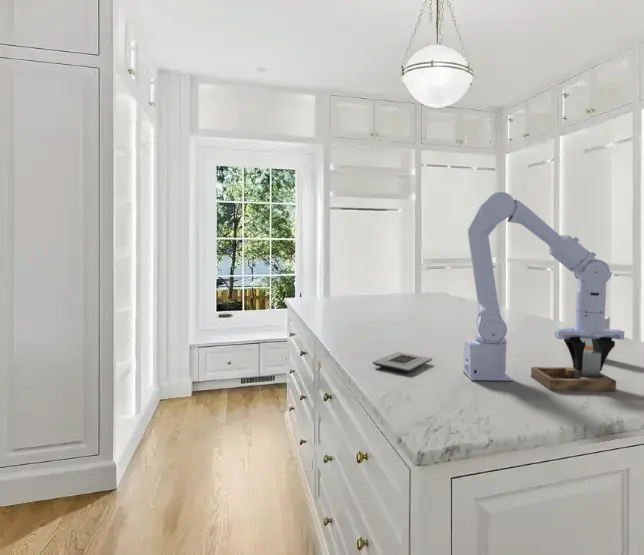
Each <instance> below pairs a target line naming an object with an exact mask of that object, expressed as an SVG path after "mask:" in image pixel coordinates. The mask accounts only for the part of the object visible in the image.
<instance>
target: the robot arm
mask: <svg viewBox="0 0 644 555" xmlns="http://www.w3.org/2000/svg"><path fill="white" fill-rule="evenodd" d="M506 219H507V223H513V224H518V225H521V226H523V227H524V228H526V230H528V231H529V232H530V233H532V234H533V235H534V236H536V237H537V238H538V239H540V240H542V241H543V242H544V243H545V244H547V246H548V253H549V255H550V256H552V257H553V258H554V259H555V260H557V261H558V263H561V264H562V266H564V267H565V268H566V269H567V270H569V271H570V272H573V275H574V277H575V278H576V280H577V285H576V286H577V287H576V298H575V300H576V301H575V316H574V317H575V320H574V327H572V328H571V327H570V328H560V329H559V328H555V329H554V338H556V339H557V340H563V341H564V343H565V345H566V347H567V348H568V351H569V354H570V357H571V361H572V368H573V367H574V369H576V370H578V371H581V368H582V357H583V352H584V348H585V345H586V344H585V343H584V342H582V340H581V339H592V344H593V350H594V351H597V352H599V353H601V368H600V372H601V371H603V367H604V365H605V362H606V361H607V359H606V357H607V356H608V355H609V354H610V352H612V349H614V348H615V345H616V342H615V341H614V340H619V341H620V340H622V341H623V340H625V330H621V329H610V328H609V329H604V322H605V317H606V299H607V282H609V281H610V279H611V277H612V273H613V272H611V270H610V266H609V265H608V263H606V262H605V261H604V260H602V259H598V258H597V259H596V256H597V253H595V252H594V251H590V250H588V249H587V248H586V247H585V246H583V245H582V244H581V243H580V242H579V241H580V239H579V238H578V237H577V236H571V235H569V234H563V235H562V234H561V235H560V234H559V233H558V232H556V230H555V229H553V228H552V227H551V226H550V225H549V224H548V223H546V221H544V220H543V219H542V218H540V217H539V215H537V214H536V213H535V212H534V211H532V210H531V209H530V208H529V207H528V206H527V205H525V204H524V203H523V202H521V201H520V200H518V199H517V198H515V199H514V197H513V196H512V195H511V194H509V193H507V192H504V191H499V192H497V191H496V192H494V193H493V194H491V195H490V196H488V197H487V199H486V200H484V201H483V202H482V204H481V205H480V206H479V207H478V209H477V211H476V213H475V215H474V217H473V219H472V221H471V223H470V224H469V227H468V229H467V236H468V242H469V251H470V258H471V265H472V272H473V279H474V284H475V291H476V292H475V293H476V300H477V309H478V316H477V318H476V320H475V321H476V322H475V324H476V327H477V332H478V333H477V334H476V335H475V336H474V339H471V340H470V339H469V340H466V341H465V342H464V346H463V369H462V371H463V373H464V374H465V375H466V376H467V377H468V378H469V379H470V380H471V381H501V382H502V381H503V382H505V381H507V382H511V381H513V380H512V377H510V376H509V375H508V374H506V370H507V369H506V368H507V366H506V365H507V364H506V363H507V338H505V337H506V335H507V333H508V327H507V324H506V322H505V320H503V318H502V315H501V309H500V305H499V301H498V294H497V286H496V278H495V273H494V265H493V259H492V252H491V245H490V244H491V243H490V238H489V236H490V234H491V233H492V232H493V231H494V230H495V229H496V227H497V226H498V225H499V224H500V223H502V222H504V221H505V220H506ZM607 358H608V357H607Z"/></svg>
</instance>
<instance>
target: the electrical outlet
mask: <svg viewBox="0 0 644 555" xmlns="http://www.w3.org/2000/svg"><path fill="white" fill-rule="evenodd" d="M432 360H433V357H427V356H421V355H417V354H416V355H415V354H410V353H405V352H402V351H401V352H400V351H397V352H395V353H392V354H389V355H387V356H385V357H382V358H379V359H376V360H374V361H372V364H373V365H375V366H376V367H382V368H386V369H391V370H395V371H399V372H405V373H409V372H412V371H413V370H415V369H417V368H420V367H421V366H424V365H425V364H427V363H430V362H431V361H432Z"/></svg>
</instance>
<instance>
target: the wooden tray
mask: <svg viewBox="0 0 644 555" xmlns="http://www.w3.org/2000/svg"><path fill="white" fill-rule="evenodd" d="M530 377H531V378H532V379H534V380H535V381H536V380H537V382H538V383H539V384H540V383H541V384H540V385H542V386H543V385H544V386H543V387H544V388H546V387H547V388H548V390H549V391H550V390H559V391H558V392H564V391H563V390H583V391H582V392H616V389H617V380H615V379H614V378H611V377H609V376H607V375H605V373H602V372H600V377H580V379H573V367H568V366H566V367H561V366H560V367H557V366H556V367H553V366H551V367H550V366H549V367H548V366H531V369H530ZM547 388H546V389H547Z"/></svg>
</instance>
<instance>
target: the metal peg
mask: <svg viewBox="0 0 644 555" xmlns="http://www.w3.org/2000/svg"><path fill="white" fill-rule="evenodd" d="M572 368H573V379H580V377H600V373H601V371H600V368H601V353H599V352H597V351H594V350H592V349H584V352H583V357H582V368H581V371H578V370H576V369H574V367H573V366H572Z"/></svg>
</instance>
